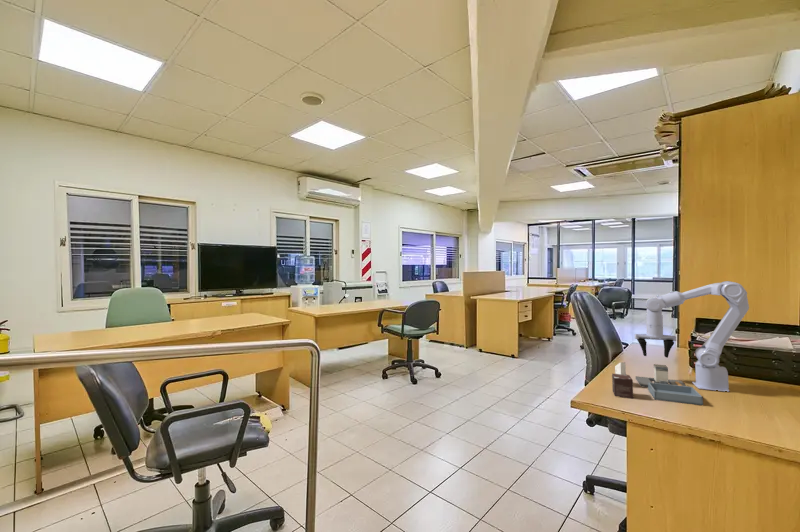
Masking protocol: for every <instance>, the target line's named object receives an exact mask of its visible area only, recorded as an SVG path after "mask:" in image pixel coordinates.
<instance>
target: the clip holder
mask: <svg viewBox="0 0 800 532" xmlns="http://www.w3.org/2000/svg"><path fill="white" fill-rule="evenodd" d="M635 380H636V382H637V383H638V385H639V386H640V387H642V388H648V382H650V383H653V382H654V377H646V376H639V375H638V376H635ZM659 384H669V385H678V386H687V385H686V384H685V383H684V382H683V381H682V380H677V379H668V381H667V380H659Z"/></svg>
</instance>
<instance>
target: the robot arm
mask: <svg viewBox="0 0 800 532" xmlns="http://www.w3.org/2000/svg"><path fill="white" fill-rule="evenodd" d="M707 295H712V296H721V297H723V298H724V299H725V301H726V303H727V304H728V306H729V308H728V309H727V310H726V312H725V313H724V314H723V317H722V318H721V320H720V321H719V322H718V324H717V326H716V327H715V328H714V330H713V332H712V333H711V335H710V336H709V338H708V339H707V340H706V341H705V342H704V343H703V344H702V345H701V346H699V347H698V348H696V349H695V351H694V355H695V357H696V359H697V360H696V361H695V363H694V364H695V365H694V366H695V367H694V368H695V381H691V383H692V384H693V385H694V386H695V387H696V388H697V389H700V390H707V391H708V390H709V391H716V390H718V392H725V391H727V392H728V393H729V392H730V389H729V388H730V387H729V372H728V370H727V369H728V368H726V367H725V366H720V365H719V363H720V356H721V355H722V352H723V349H724V346H725V345H726V343H727V342H728V340H729V339H730V337H731V336H732V334H734V332H735V330H736V329H737V327H738V326H739V324H740V322H741V321H742V320H743V319H744V317H745V315H746V314H747V313H748V312H749V309H750V305H749V299H748V292H747V290H746V289H745V288H744V286H743V285H742V284H741V283H738V282H735V281H730V280H726V281H722V282H714V283H710V284H707V285H702V286H700V287H696V288H692V289H690V290H686V291H684V292H680V291H677V290H675V291H673V290H670V291H669V292H668V293H664V294H661V295H659V294H657V295H656V297H654V296H653V297H650V298H647V300H646V301H645V307H646V315H645V316H646V317H645V318H646V319H645V323H646V333H635V334H634V339H635V340H637V342H638V344H639V345H640V348H641V351H642V355H643V356H644V357H647V343H648V342H647V341H646V340H655V341H663V347H664V350H663V354H664V357H665V358H669V354H670V351H671V349H672V348H673V346H674V344H675V342H677V336H676V335H670V334H669V335H668V334H664V325H663V324H664V320H663V317H664V316H663V314H662V313H663V311H662V310H663V309H668V308H673V307H675V306H681V305H683V304H684V303H685V301H687V300H690V299H695V298H699V297H704V296H707ZM727 392H726V393H727Z"/></svg>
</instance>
